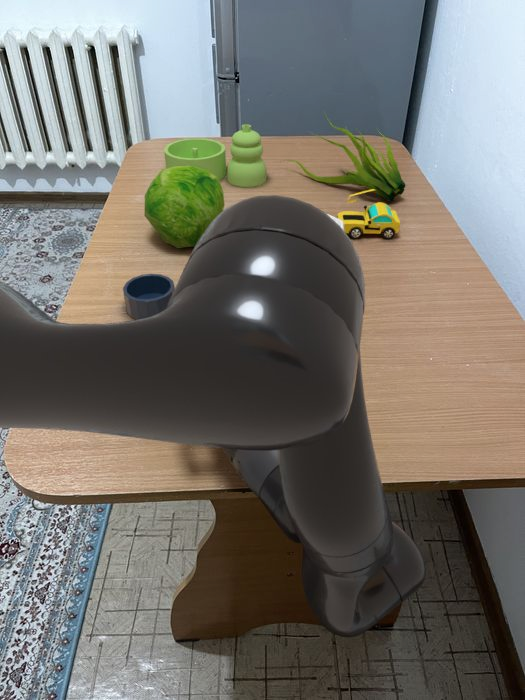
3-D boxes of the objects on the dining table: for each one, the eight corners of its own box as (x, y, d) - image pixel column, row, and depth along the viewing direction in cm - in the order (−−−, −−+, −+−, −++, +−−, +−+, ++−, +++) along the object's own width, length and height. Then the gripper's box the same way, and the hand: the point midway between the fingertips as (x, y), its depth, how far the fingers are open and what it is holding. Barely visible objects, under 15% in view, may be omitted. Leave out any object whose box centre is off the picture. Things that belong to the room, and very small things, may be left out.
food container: (157, 181, 136) (151, 127, 128) (180, 159, 146) (175, 109, 138) (257, 193, 130) (257, 138, 122) (273, 170, 141) (274, 118, 133)
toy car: (392, 224, 119) (398, 185, 113) (398, 241, 113) (405, 202, 107) (335, 223, 119) (338, 185, 113) (338, 240, 113) (342, 201, 107)
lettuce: (158, 218, 125) (226, 230, 126) (131, 246, 105) (212, 260, 105) (163, 149, 119) (235, 162, 119) (136, 165, 99) (222, 180, 99)
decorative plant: (341, 158, 148) (346, 99, 139) (407, 202, 127) (419, 136, 117) (279, 168, 142) (280, 107, 133) (337, 216, 121) (343, 147, 112)
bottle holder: (120, 319, 92) (116, 299, 89) (135, 292, 98) (132, 272, 96) (169, 323, 91) (166, 302, 88) (181, 295, 97) (179, 275, 95)
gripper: (324, 401, 61) (246, 321, 72) (203, 453, 55) (139, 357, 66) (319, 448, 65) (246, 366, 77) (207, 500, 60) (147, 403, 71)
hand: (197, 362), depth 71 cm, fingers closed on pill bottle, 4 cm apart
